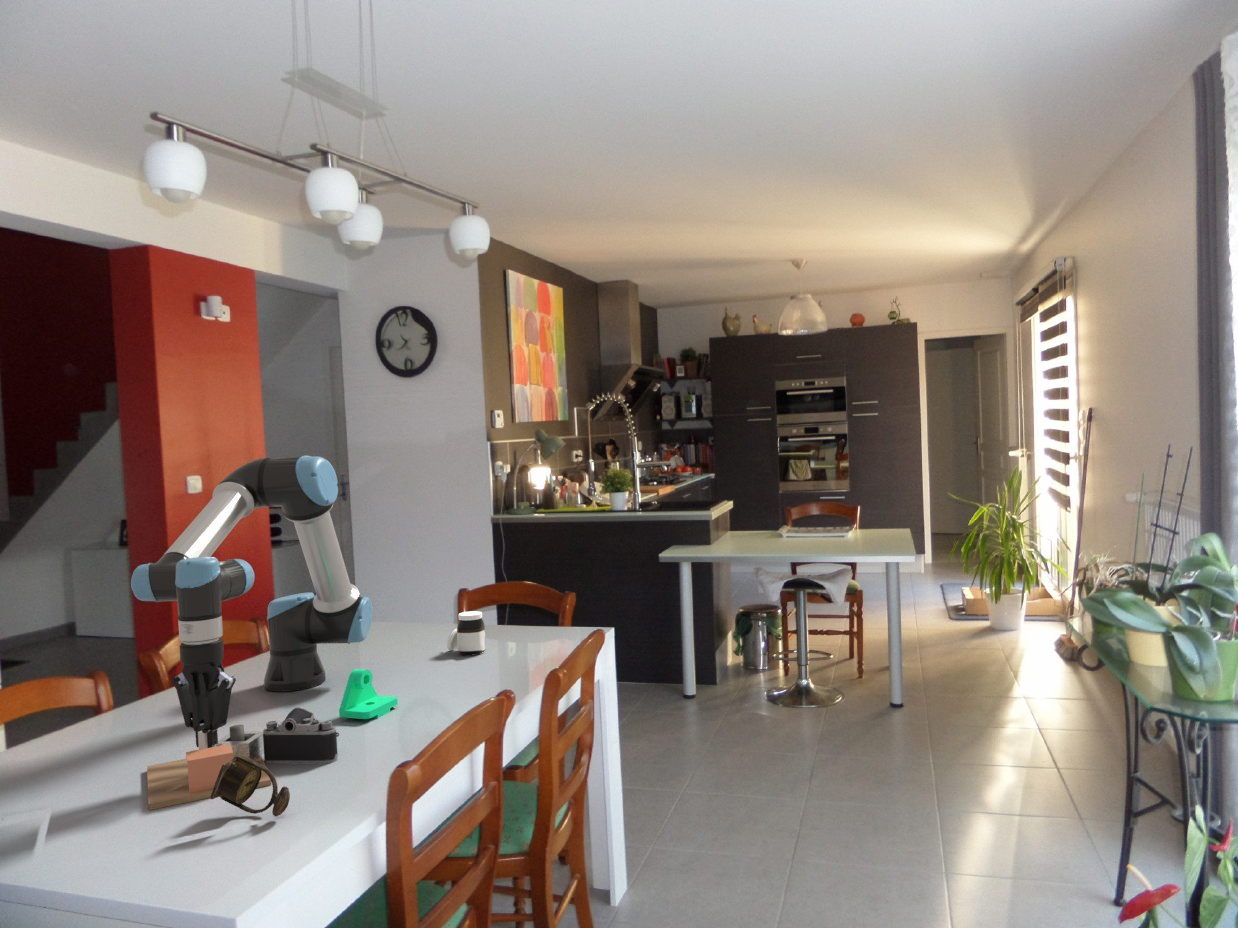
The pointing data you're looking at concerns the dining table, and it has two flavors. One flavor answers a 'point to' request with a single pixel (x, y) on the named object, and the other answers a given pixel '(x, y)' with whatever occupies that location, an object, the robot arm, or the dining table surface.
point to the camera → (300, 739)
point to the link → (246, 745)
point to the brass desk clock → (247, 785)
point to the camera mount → (364, 698)
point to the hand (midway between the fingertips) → (208, 763)
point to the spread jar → (468, 634)
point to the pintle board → (184, 779)
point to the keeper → (206, 766)
